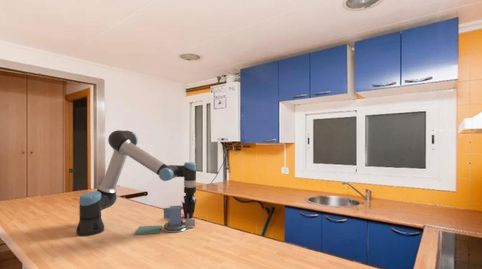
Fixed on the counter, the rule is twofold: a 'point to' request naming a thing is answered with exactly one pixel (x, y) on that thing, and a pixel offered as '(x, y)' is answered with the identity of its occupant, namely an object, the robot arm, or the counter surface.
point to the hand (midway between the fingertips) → (189, 223)
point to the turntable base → (174, 231)
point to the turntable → (179, 227)
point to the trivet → (148, 230)
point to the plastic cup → (184, 209)
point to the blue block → (173, 214)
